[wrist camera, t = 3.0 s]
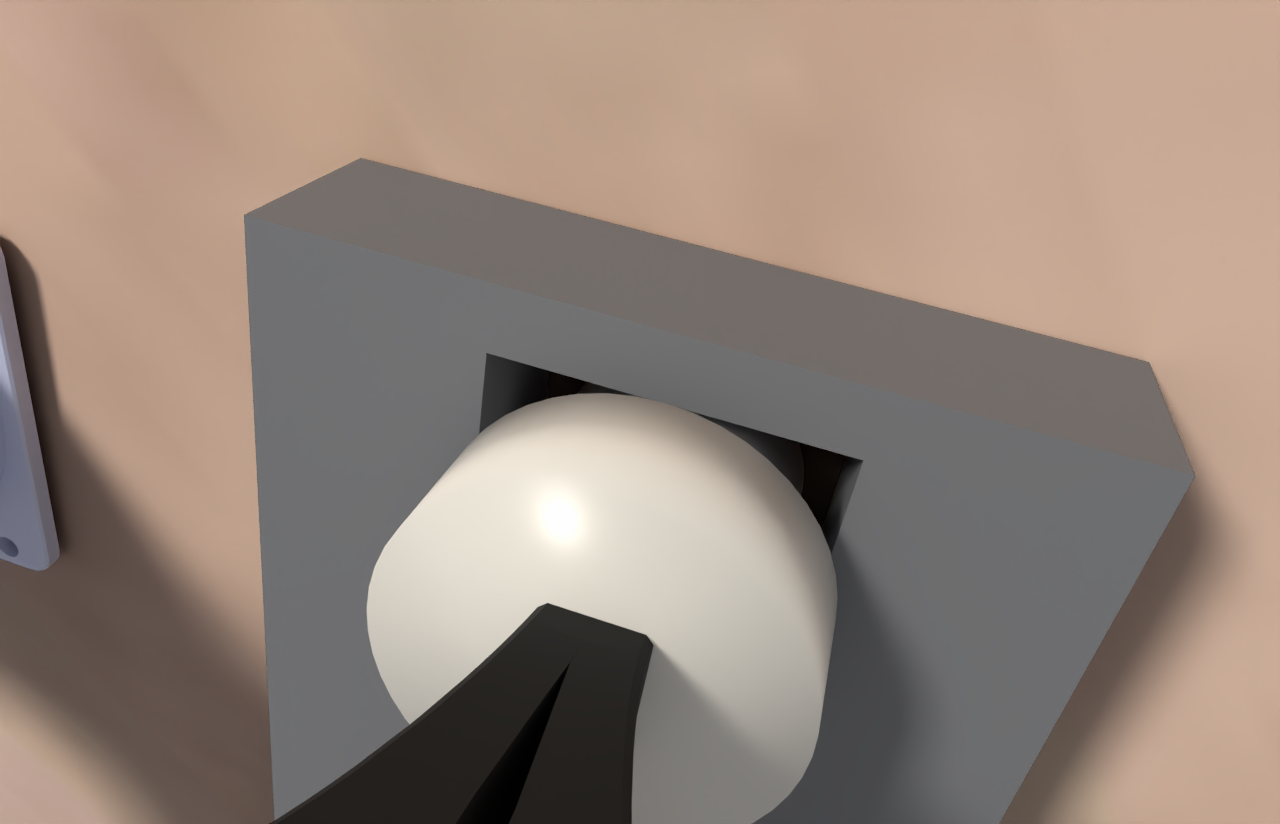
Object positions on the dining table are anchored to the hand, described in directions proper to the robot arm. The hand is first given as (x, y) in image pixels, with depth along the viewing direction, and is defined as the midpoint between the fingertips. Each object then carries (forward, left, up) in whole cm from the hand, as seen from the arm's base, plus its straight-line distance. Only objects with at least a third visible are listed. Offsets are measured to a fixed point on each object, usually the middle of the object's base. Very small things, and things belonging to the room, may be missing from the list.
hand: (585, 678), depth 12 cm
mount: (0, -9, -6) cm, 10 cm away
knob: (0, 0, -5) cm, 5 cm away
